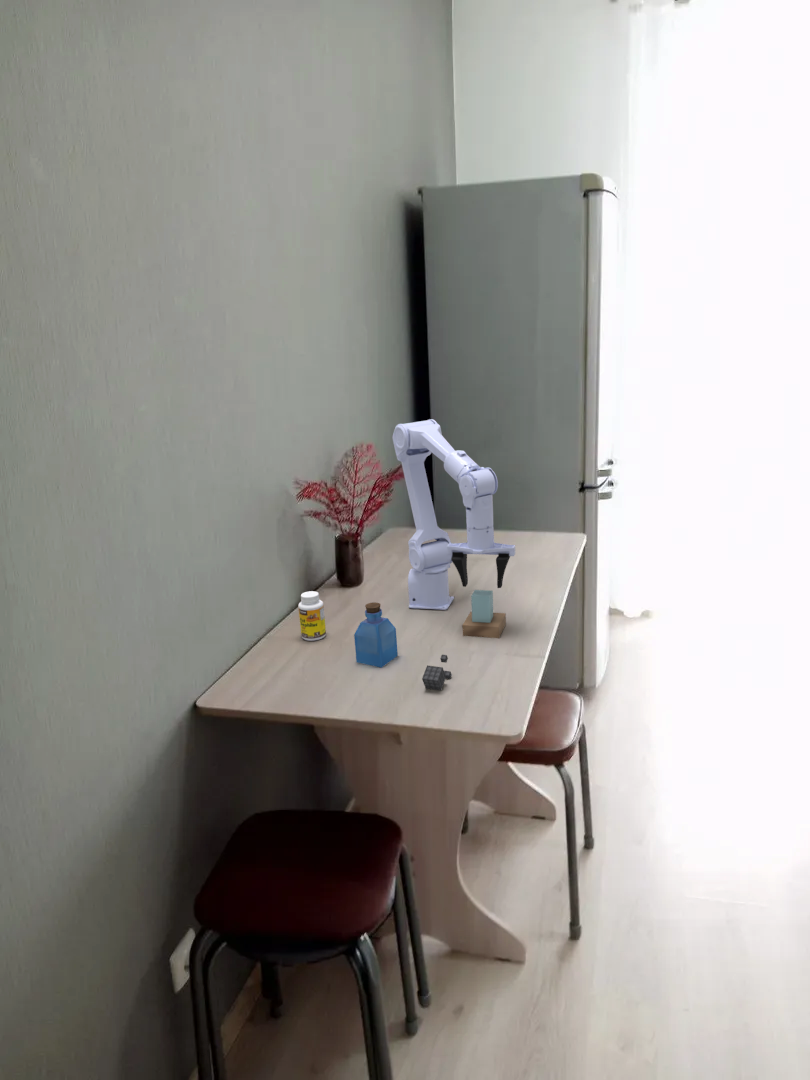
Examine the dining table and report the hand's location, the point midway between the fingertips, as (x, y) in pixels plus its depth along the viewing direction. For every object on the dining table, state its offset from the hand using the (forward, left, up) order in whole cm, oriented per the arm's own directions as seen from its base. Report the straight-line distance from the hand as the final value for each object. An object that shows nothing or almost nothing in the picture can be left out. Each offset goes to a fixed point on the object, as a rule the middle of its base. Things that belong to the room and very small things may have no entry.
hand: (482, 585), depth 177 cm
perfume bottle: (-19, -18, -11) cm, 28 cm away
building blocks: (-4, -26, -11) cm, 29 cm away
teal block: (0, 0, -8) cm, 8 cm away
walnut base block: (0, 0, -11) cm, 11 cm away
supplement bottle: (-37, -9, -11) cm, 40 cm away
